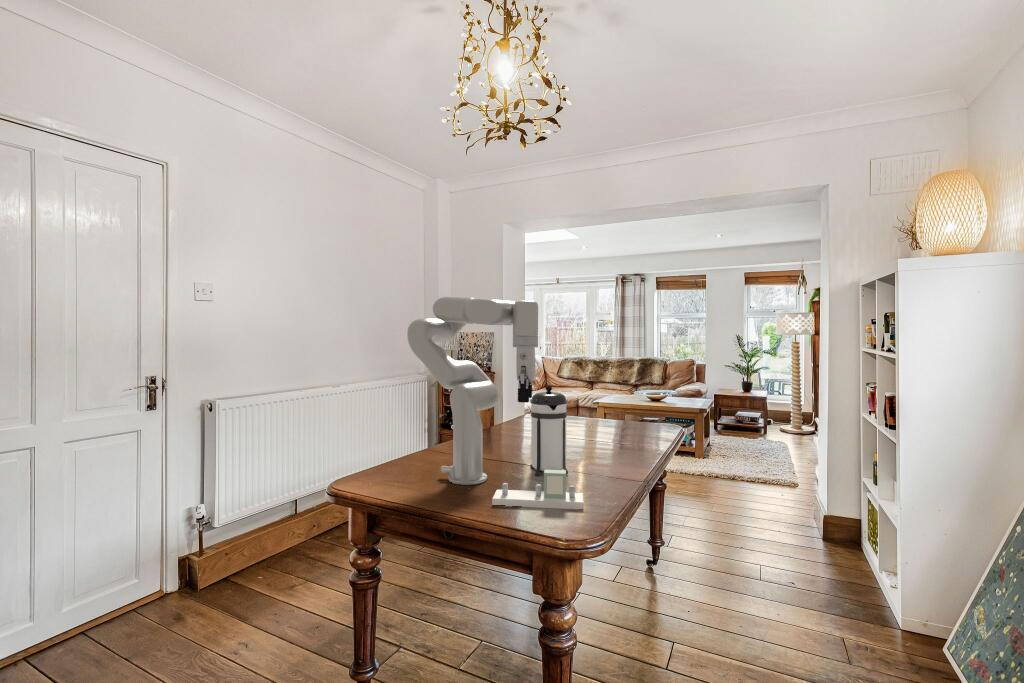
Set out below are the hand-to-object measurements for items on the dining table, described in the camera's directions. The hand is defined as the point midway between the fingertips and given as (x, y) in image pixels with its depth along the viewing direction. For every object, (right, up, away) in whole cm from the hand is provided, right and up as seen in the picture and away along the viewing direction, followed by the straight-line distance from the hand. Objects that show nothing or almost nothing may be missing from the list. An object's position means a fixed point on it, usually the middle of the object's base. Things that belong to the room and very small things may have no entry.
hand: (525, 399), depth 148 cm
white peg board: (+4, -28, -7) cm, 29 cm away
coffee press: (+8, -28, +26) cm, 39 cm away
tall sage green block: (+8, -26, -7) cm, 29 cm away
